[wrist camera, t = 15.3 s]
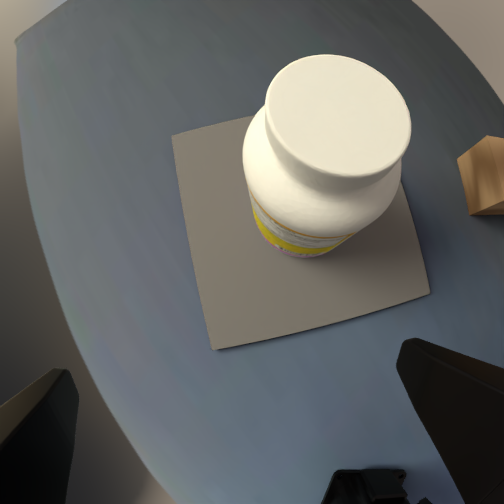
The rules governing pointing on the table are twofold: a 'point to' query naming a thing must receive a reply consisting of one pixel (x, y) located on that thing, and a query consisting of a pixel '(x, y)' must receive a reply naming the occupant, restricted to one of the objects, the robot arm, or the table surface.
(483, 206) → the light brown cube
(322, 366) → the table surface
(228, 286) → the mat
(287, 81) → the supplement bottle
